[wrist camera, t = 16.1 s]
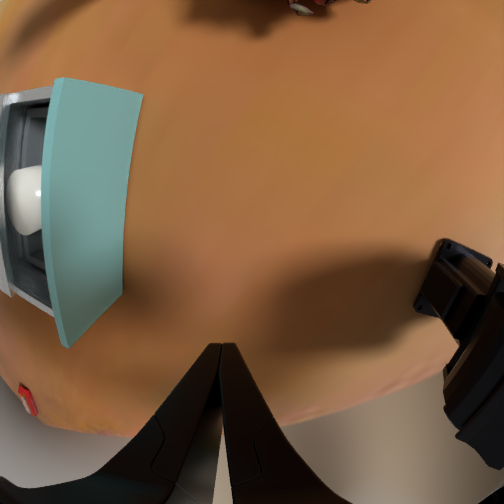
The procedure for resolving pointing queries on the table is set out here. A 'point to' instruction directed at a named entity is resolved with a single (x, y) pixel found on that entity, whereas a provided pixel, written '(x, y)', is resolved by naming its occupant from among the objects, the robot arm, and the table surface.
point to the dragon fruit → (303, 10)
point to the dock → (3, 232)
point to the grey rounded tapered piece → (25, 199)
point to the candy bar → (27, 400)
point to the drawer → (81, 197)
